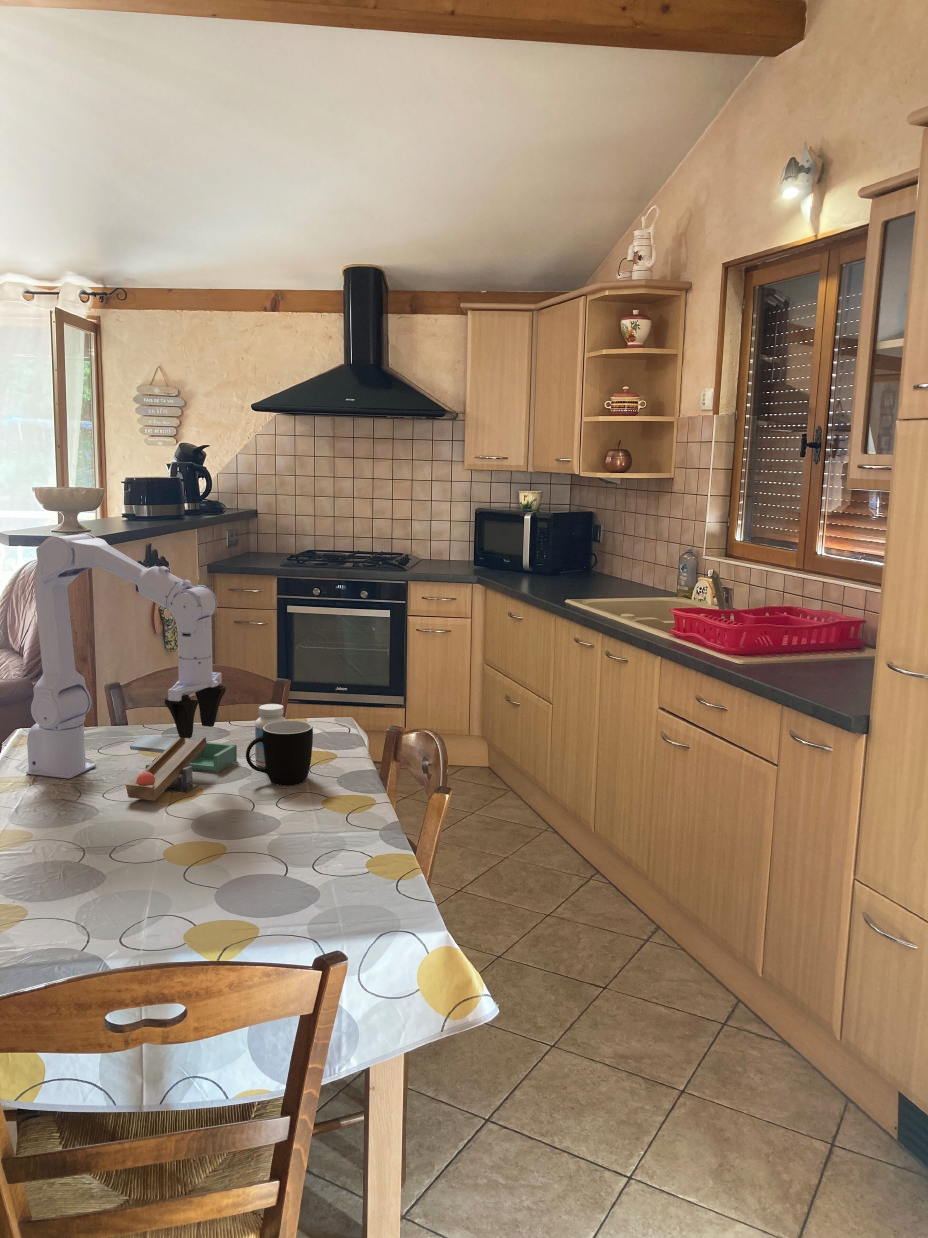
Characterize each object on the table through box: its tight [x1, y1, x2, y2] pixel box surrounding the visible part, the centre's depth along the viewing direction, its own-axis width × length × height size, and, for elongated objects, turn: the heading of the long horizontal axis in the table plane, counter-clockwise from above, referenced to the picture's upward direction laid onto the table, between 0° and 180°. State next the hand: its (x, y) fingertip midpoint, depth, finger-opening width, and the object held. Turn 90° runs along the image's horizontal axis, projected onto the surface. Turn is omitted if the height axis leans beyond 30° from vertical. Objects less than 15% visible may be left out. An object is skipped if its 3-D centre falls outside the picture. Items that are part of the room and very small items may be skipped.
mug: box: [245, 719, 314, 787], centre depth 171 cm, size 12×9×10 cm
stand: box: [145, 761, 199, 794], centre depth 167 cm, size 9×4×4 cm, turn 75°
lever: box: [125, 734, 208, 801], centre depth 167 cm, size 14×18×3 cm
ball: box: [136, 771, 155, 785], centre depth 160 cm, size 3×3×3 cm
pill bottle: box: [254, 703, 287, 768], centre depth 181 cm, size 6×6×11 cm
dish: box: [188, 741, 238, 773], centre depth 180 cm, size 8×7×3 cm
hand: (196, 731), depth 166 cm, fingers open, 7 cm apart
